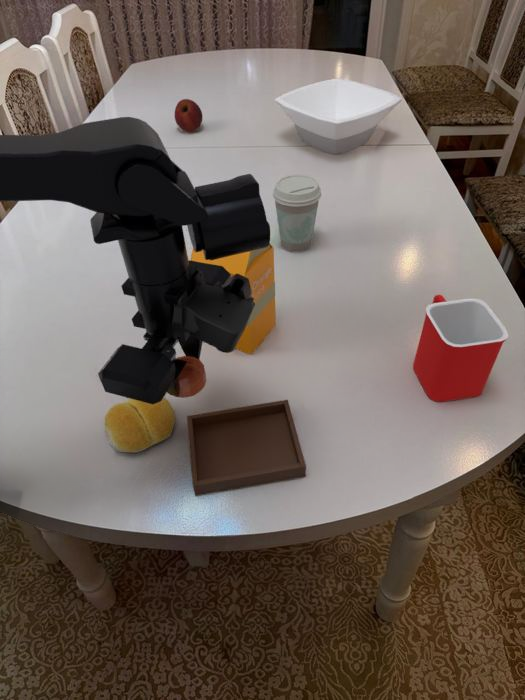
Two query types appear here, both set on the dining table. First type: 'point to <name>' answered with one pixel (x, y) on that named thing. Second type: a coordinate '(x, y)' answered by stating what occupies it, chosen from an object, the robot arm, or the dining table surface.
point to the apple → (188, 115)
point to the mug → (457, 348)
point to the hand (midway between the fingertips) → (184, 378)
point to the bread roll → (138, 424)
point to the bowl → (337, 113)
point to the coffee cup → (296, 210)
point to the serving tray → (244, 447)
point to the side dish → (191, 377)
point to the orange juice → (263, 291)
